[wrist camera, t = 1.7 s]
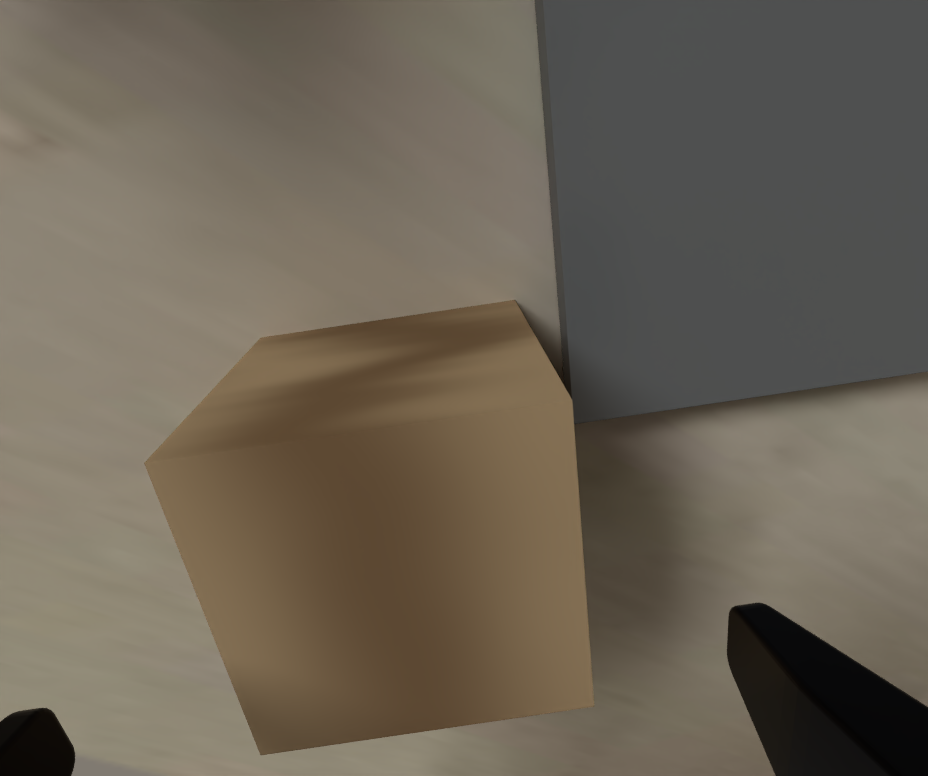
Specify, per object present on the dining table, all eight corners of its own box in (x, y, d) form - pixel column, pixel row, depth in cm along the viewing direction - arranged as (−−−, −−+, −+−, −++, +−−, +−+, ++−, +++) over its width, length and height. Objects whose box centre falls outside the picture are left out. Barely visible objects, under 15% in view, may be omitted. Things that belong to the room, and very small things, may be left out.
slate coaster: (994, -78, 11) (1034, -95, 10) (919, 357, 15) (946, 368, 14) (534, -10, 11) (541, -21, 10) (566, 410, 15) (573, 423, 14)
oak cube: (514, 299, 14) (572, 400, 8) (537, 512, 16) (594, 706, 10) (261, 336, 14) (144, 462, 8) (320, 544, 16) (260, 754, 10)
